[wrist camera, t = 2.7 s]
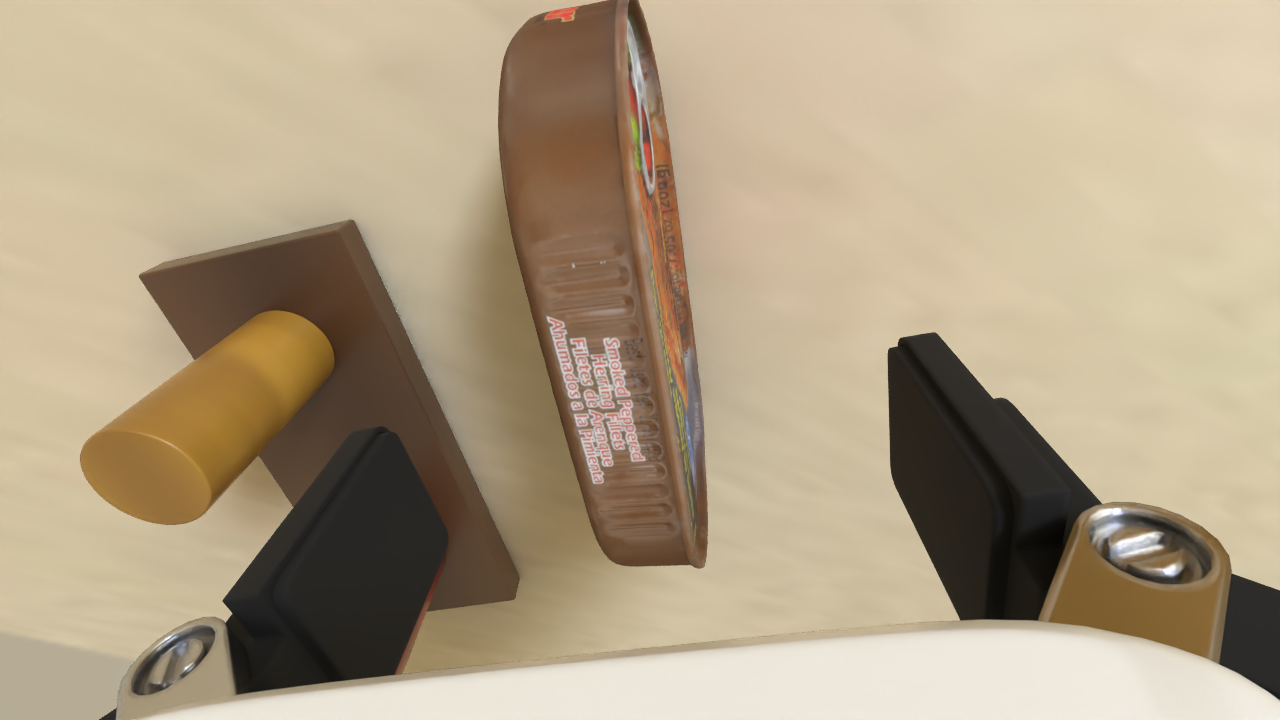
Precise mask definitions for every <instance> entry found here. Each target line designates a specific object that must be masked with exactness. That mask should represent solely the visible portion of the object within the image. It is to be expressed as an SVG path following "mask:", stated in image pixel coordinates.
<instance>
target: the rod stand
mask: <svg viewBox="0 0 1280 720" xmlns="http://www.w3.org/2000/svg"><path fill="white" fill-rule="evenodd" d="M139 278H140V279H141V281H142V282H143V284H144V285H145V287H146V288H147V290H148V291H149V293H150V294H151V296H152V297H153V299H154V300H155V302H156V303H157V305H158V306H159V308H160V309H161V311H162V312H163V314H164V315H165V317H166V318H167V320H168V321H169V323H170V324H171V325H172V327H173V328H174V330H175V331H176V333H177V334H178V336H179V337H180V339H181V340H182V342H183V343H184V345H185V346H186V348H187V349H188V351H189V352H190V354H191V355H192V357H193V358H194V361H193V362H192V363H190V364H189V365H188V366H186V367H185V368H184V369H182V370H181V371H180V372H178V373H177V374H175V375H174V376H173V377H171V378H170V379H169V380H167V381H166V382H165V383H163V384H162V385H161V386H159V387H158V388H157V389H155V390H154V391H152V392H151V393H150V394H148V395H147V396H146V397H144V398H143V399H142V400H140V401H139V402H138V403H136V404H135V405H133V406H132V407H131V408H129V409H128V410H127V411H125V412H124V413H123V414H121V415H120V416H119V417H117V418H116V419H114V420H113V421H112V422H110V423H109V424H108V425H106V426H105V427H104V428H102V429H101V430H100V431H98V432H97V433H95V434H94V435H93V436H91V437H90V438H89V439H88V440H87V441H86V442H85V444H84V446H83V448H82V451H81V455H80V463H81V468H82V471H83V473H84V475H85V477H86V479H87V481H88V482H89V484H90V485H91V486H92V488H93V489H94V490H95V491H96V492H97V493H98V494H99V495H100V496H101V497H102V498H103V499H105V500H106V501H107V502H108V503H110V504H111V505H112V506H114V507H116V508H117V509H119V510H121V511H123V512H124V513H126V514H128V515H131V516H133V517H135V518H138V519H141V520H144V521H148V522H152V523H157V524H165V525H177V524H184V523H188V522H191V521H194V520H196V519H198V518H199V517H201V516H202V515H203V514H205V513H206V512H207V510H208V509H209V508H210V507H211V506H212V505H213V504H214V503H215V502H216V501H217V500H218V498H219V497H220V496H221V495H222V494H223V493H224V492H225V491H226V490H227V489H228V488H229V486H230V485H231V484H232V483H233V482H234V481H235V480H236V479H237V478H238V477H239V475H240V474H241V473H242V472H243V471H244V470H245V469H246V468H247V467H248V466H249V465H250V463H251V462H252V461H253V460H254V459H255V458H256V457H257V456H258V455H259V456H260V458H261V459H262V461H263V462H264V464H265V465H266V467H267V468H268V470H269V471H270V473H271V474H272V476H273V477H274V479H275V480H276V482H277V483H278V485H279V486H280V488H281V489H282V491H283V492H284V494H285V495H286V497H287V498H288V500H289V501H290V503H291V504H292V506H293V507H294V506H295V505H296V504H297V502H298V501H299V500H300V498H301V497H302V496H303V494H304V493H305V492H306V491H307V489H308V488H309V487H310V485H311V484H312V483H313V481H314V480H315V479H316V477H317V476H318V475H319V474H320V472H321V471H322V470H323V468H324V467H325V466H326V464H327V463H328V462H329V460H330V459H331V458H332V457H333V455H334V454H335V453H336V451H337V450H338V449H339V447H340V446H341V445H342V443H343V442H344V441H345V439H346V438H347V437H348V436H349V434H350V433H352V432H353V431H356V430H361V429H367V428H373V427H379V426H383V427H386V428H387V429H388V430H389V431H390V432H395V433H396V434H397V435H398V436H399V438H400V439H401V441H402V443H403V445H404V447H405V449H406V451H407V453H408V455H409V457H410V459H411V461H412V463H413V465H414V467H415V468H416V470H417V472H418V474H419V476H420V478H421V480H422V482H423V484H424V486H425V488H426V490H427V492H428V494H429V495H430V497H431V499H432V501H433V503H434V505H435V507H436V509H437V511H438V513H439V515H440V517H441V519H442V521H443V523H444V524H445V526H446V529H447V531H448V537H449V542H448V547H447V550H446V553H445V555H444V557H443V560H442V562H441V565H440V567H439V569H438V572H437V574H436V577H435V579H434V581H433V584H432V586H431V589H430V591H429V594H428V596H427V598H426V601H425V603H424V606H423V608H422V610H421V613H420V615H419V618H418V620H417V622H416V625H415V627H414V630H413V632H412V635H411V637H410V639H409V642H408V644H407V647H406V649H405V651H404V654H403V656H402V659H401V661H400V663H399V666H398V668H397V671H396V673H395V675H400V674H403V671H404V669H405V666H406V664H407V661H408V658H409V656H410V653H411V651H412V648H413V646H414V643H415V640H416V638H417V635H418V633H419V630H420V627H421V625H422V622H423V620H424V617H425V615H426V612H428V611H435V610H442V609H450V608H457V607H465V606H472V605H480V604H487V603H494V602H502V601H509V600H514V599H515V596H516V592H517V588H518V584H519V580H520V578H519V576H518V574H517V571H516V569H515V567H514V565H513V563H512V561H511V558H510V556H509V554H508V552H507V550H506V548H505V546H504V543H503V541H502V539H501V537H500V535H499V533H498V530H497V528H496V526H495V524H494V522H493V520H492V517H491V515H490V513H489V511H488V509H487V507H486V504H485V502H484V500H483V498H482V496H481V494H480V492H479V489H478V487H477V485H476V483H475V481H474V479H473V476H472V474H471V472H470V470H469V468H468V466H467V463H466V461H465V459H464V457H463V455H462V453H461V450H460V448H459V446H458V444H457V442H456V440H455V438H454V435H453V433H452V431H451V429H450V427H449V425H448V422H447V420H446V418H445V416H444V414H443V412H442V409H441V407H440V405H439V403H438V401H437V399H436V396H435V394H434V392H433V390H432V388H431V386H430V383H429V381H428V379H427V377H426V375H425V373H424V371H423V368H422V366H421V364H420V362H419V360H418V358H417V355H416V353H415V351H414V349H413V347H412V345H411V342H410V340H409V338H408V336H407V334H406V332H405V329H404V327H403V325H402V323H401V321H400V319H399V317H398V314H397V312H396V310H395V308H394V306H393V304H392V301H391V299H390V297H389V295H388V293H387V291H386V288H385V286H384V284H383V282H382V280H381V278H380V275H379V273H378V271H377V269H376V267H375V265H374V263H373V260H372V258H371V256H370V254H369V252H368V250H367V247H366V245H365V243H364V241H363V239H362V237H361V234H360V232H359V230H358V228H357V226H356V224H355V222H354V220H348V221H343V222H339V223H335V224H330V225H326V226H321V227H317V228H313V229H308V230H304V231H300V232H295V233H291V234H286V235H282V236H278V237H273V238H269V239H264V240H260V241H256V242H251V243H247V244H243V245H238V246H234V247H229V248H225V249H221V250H216V251H212V252H208V253H203V254H199V255H194V256H190V257H186V258H181V259H177V260H172V261H168V262H164V263H162V264H160V265H158V266H156V267H153V268H151V269H149V270H147V271H145V272H143V273H141V274H140V275H139Z"/></svg>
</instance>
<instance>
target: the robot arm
mask: <svg viewBox="0 0 1280 720" xmlns="http://www.w3.org/2000/svg"><path fill="white" fill-rule="evenodd" d="M888 389H889V429H890V466H891V474H892V478H893V481H894V484H895V487H896V489H897V491H898V493H899V495H900V497H901V499H902V501H903V503H904V505H905V507H906V509H907V512H908V514H909V516H910V518H911V520H912V522H913V524H914V526H915V528H916V530H917V532H918V534H919V536H920V538H921V540H922V542H923V544H924V546H925V548H926V550H927V553H928V555H929V557H930V559H931V561H932V563H933V565H934V567H935V569H936V571H937V573H938V575H939V577H940V579H941V581H942V583H943V585H944V587H945V589H946V591H947V593H948V596H949V598H950V600H951V602H952V604H953V606H954V608H955V610H956V612H957V614H958V616H959V618H960V620H961V621H939V622H919V623H908V624H896V625H884V626H872V627H860V628H848V629H836V630H824V631H812V632H802V633H792V634H782V635H772V636H762V637H752V638H742V639H732V640H722V641H712V642H702V643H692V644H682V645H672V646H662V647H652V648H642V649H632V650H623V651H613V652H604V653H594V654H585V655H575V656H565V657H556V658H547V659H537V660H528V661H518V662H509V663H500V664H490V665H481V666H471V667H462V668H454V669H445V670H436V671H427V672H418V673H409V674H400V675H395V673H396V671H397V668H398V666H399V663H400V661H401V659H402V656H403V654H404V651H405V649H406V647H407V644H408V642H409V639H410V637H411V635H412V632H413V630H414V627H415V625H416V622H417V620H418V618H419V615H420V613H421V610H422V608H423V606H424V603H425V601H426V598H427V596H428V594H429V591H430V589H431V586H432V584H433V581H434V579H435V577H436V574H437V572H438V569H439V567H440V565H441V562H442V560H443V557H444V555H445V553H446V550H447V547H448V542H449V537H448V531H447V529H446V526H445V524H444V523H443V521H442V519H441V517H440V515H439V513H438V511H437V509H436V507H435V505H434V503H433V501H432V499H431V497H430V495H429V494H428V492H427V490H426V488H425V486H424V484H423V482H422V480H421V478H420V476H419V474H418V472H417V470H416V468H415V467H414V465H413V463H412V461H411V459H410V457H409V455H408V453H407V451H406V449H405V447H404V445H403V443H402V441H401V439H400V438H399V436H398V435H397V434H396V433H395V432H390V431H389V430H388V429H387V428H386V427H383V426H379V427H373V428H367V429H361V430H356V431H353V432H352V433H350V434H349V436H348V437H347V438H346V439H345V441H344V442H343V443H342V445H341V446H340V447H339V449H338V450H337V451H336V453H335V454H334V455H333V457H332V458H331V459H330V460H329V462H328V463H327V464H326V466H325V467H324V468H323V470H322V471H321V472H320V474H319V475H318V476H317V477H316V479H315V480H314V481H313V483H312V484H311V485H310V487H309V488H308V489H307V491H306V492H305V493H304V494H303V496H302V497H301V498H300V500H299V501H298V502H297V504H296V505H295V506H294V508H293V509H292V510H291V512H290V513H289V514H288V515H287V517H286V518H285V519H284V521H283V522H282V523H281V525H280V526H279V527H278V529H277V530H276V531H275V532H274V534H273V535H272V536H271V538H270V539H269V540H268V542H267V543H266V544H265V546H264V547H263V548H262V549H261V551H260V552H259V553H258V555H257V556H256V557H255V559H254V560H253V561H252V563H251V564H250V565H249V567H248V568H247V569H246V570H245V572H244V573H243V574H242V576H241V577H240V578H239V580H238V581H237V582H236V584H235V585H234V586H233V587H232V589H231V590H230V591H229V593H228V594H227V595H226V597H225V598H224V599H223V602H224V604H225V605H226V606H227V607H228V608H229V610H230V611H231V612H232V613H233V614H232V615H231V616H230V618H229V619H228V620H227V622H226V623H225V622H224V621H223V620H221V619H219V618H217V617H202V618H199V619H196V620H192V621H189V622H187V623H185V624H183V625H181V626H179V627H177V628H175V629H173V630H172V631H170V632H169V633H167V634H166V635H164V636H163V637H161V638H160V639H158V640H157V641H156V642H155V643H153V644H152V645H151V646H150V647H149V648H148V649H146V650H145V651H144V652H143V653H142V654H141V655H140V656H139V657H138V659H137V660H136V661H135V662H134V663H133V664H132V665H131V666H130V668H129V669H128V671H127V673H126V674H125V676H124V677H123V679H122V681H121V684H120V688H119V691H118V700H117V708H116V709H114V710H113V711H111V712H110V713H108V714H107V715H105V716H104V717H102V718H101V719H99V720H1280V591H1279V590H1277V589H1274V588H1271V587H1268V586H1265V585H1262V584H1260V583H1257V582H1254V581H1251V580H1248V579H1246V578H1243V577H1240V576H1237V575H1234V574H1231V572H1232V570H1231V564H1230V558H1229V555H1228V553H1227V552H1226V551H1225V549H1224V548H1223V546H1222V545H1221V543H1220V542H1219V541H1218V540H1217V539H1216V538H1215V537H1214V536H1212V535H1211V534H1210V533H1209V532H1208V531H1206V530H1205V529H1204V528H1203V527H1202V526H1200V525H1198V524H1196V523H1194V522H1192V521H1191V520H1189V519H1187V518H1185V517H1183V516H1181V515H1179V514H1176V513H1173V512H1171V511H1168V510H1165V509H1162V508H1159V507H1155V506H1150V505H1145V504H1140V503H1133V502H1111V503H1106V504H1102V503H1101V502H1100V501H1099V500H1098V499H1097V498H1096V496H1095V495H1094V494H1093V493H1092V492H1091V491H1090V490H1089V489H1088V487H1087V486H1086V485H1085V484H1084V483H1083V482H1082V481H1081V480H1080V479H1079V477H1078V476H1077V475H1076V474H1075V473H1074V472H1073V471H1072V470H1071V469H1070V467H1069V466H1068V465H1067V464H1066V463H1065V462H1064V461H1063V460H1062V459H1061V457H1060V456H1059V455H1058V454H1057V453H1056V452H1055V451H1054V450H1053V448H1052V447H1051V446H1050V445H1049V444H1048V443H1047V442H1046V441H1045V440H1044V438H1043V437H1042V436H1041V435H1040V434H1039V433H1038V432H1037V431H1036V430H1035V428H1034V427H1033V426H1032V425H1031V424H1030V423H1029V422H1028V421H1027V419H1026V418H1025V417H1024V416H1023V415H1022V414H1021V413H1020V412H1019V411H1018V409H1017V408H1016V407H1015V406H1014V405H1013V404H1012V403H1011V402H1009V401H1008V400H1007V399H1004V398H996V399H993V398H992V397H991V396H990V395H989V393H988V392H987V391H986V390H985V389H984V388H983V386H982V385H981V384H980V383H979V382H978V381H977V379H976V378H975V377H974V376H973V375H972V374H971V372H970V371H969V370H968V369H967V368H966V367H965V366H964V364H963V363H962V362H961V361H960V360H959V359H958V357H957V356H956V355H955V354H954V353H953V352H952V350H951V349H950V348H949V347H948V346H947V345H946V343H945V342H944V341H943V340H942V339H941V338H940V336H939V335H938V334H936V333H934V332H932V333H926V334H921V335H915V336H909V337H903V338H900V339H899V342H898V347H893V348H889V350H888Z"/></svg>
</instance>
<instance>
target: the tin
mask: <svg viewBox="0 0 1280 720" xmlns="http://www.w3.org/2000/svg"><path fill="white" fill-rule="evenodd" d="M498 130H499V150H500V161H501V170H502V177H503V185H504V192H505V199H506V204H507V210H508V216H509V222H510V228H511V233H512V238H513V242H514V247H515V251H516V255H517V259H518V263H519V266H520V270H521V274H522V278H523V282H524V285H525V289H526V293H527V297H528V300H529V304H530V308H531V312H532V316H533V320H534V323H535V327H536V331H537V335H538V338H539V342H540V346H541V349H542V353H543V356H544V359H545V363H546V368H547V371H548V375H549V378H550V381H551V386H552V390H553V394H554V397H555V400H556V404H557V407H558V410H559V414H560V418H561V422H562V425H563V429H564V433H565V436H566V439H567V443H568V447H569V450H570V454H571V458H572V461H573V464H574V467H575V471H576V475H577V479H578V481H579V484H580V488H581V492H582V496H583V499H584V503H585V506H586V509H587V513H588V516H589V520H590V523H591V526H592V529H593V531H594V534H595V537H596V539H597V541H598V543H599V545H600V547H601V549H602V551H603V552H604V554H605V555H606V556H607V557H608V558H609V559H610V560H611V561H612V562H614V563H616V564H619V565H623V566H670V565H692V566H693V567H695V568H699V569H700V568H703V567H704V566H705V562H706V556H707V543H708V542H707V536H708V534H707V532H708V512H707V506H708V505H707V485H706V468H705V444H704V420H703V409H702V399H701V389H700V380H699V374H698V364H697V355H696V347H695V338H694V332H693V323H692V315H691V308H690V300H689V292H688V285H687V276H686V268H685V261H684V253H683V244H682V237H681V229H680V221H679V213H678V205H677V196H676V189H675V181H674V174H673V166H672V159H671V151H670V144H669V135H668V130H667V124H666V118H665V114H664V105H663V99H662V93H661V87H660V82H659V76H658V71H657V66H656V61H655V55H654V52H653V48H652V43H651V38H650V35H649V32H648V28H647V24H646V21H645V18H644V14H643V11H642V9H641V7H640V4H639V1H638V0H607V1H602V2H598V3H593V4H588V5H583V6H577V7H571V8H565V9H560V10H554V11H550V12H546V13H542V14H540V15H537V16H534V17H532V18H530V19H529V20H528V21H527V22H526V23H525V24H524V25H523V26H522V27H521V28H520V29H519V31H518V32H517V33H516V34H515V36H514V37H513V38H512V40H511V42H510V44H509V46H508V48H507V50H506V53H505V56H504V60H503V65H502V71H501V79H500V90H499V112H498Z"/></svg>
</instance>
